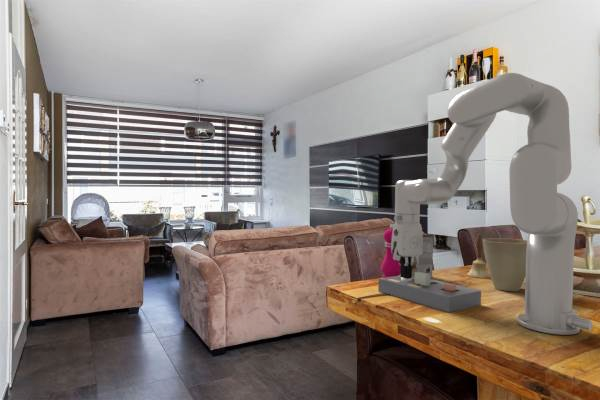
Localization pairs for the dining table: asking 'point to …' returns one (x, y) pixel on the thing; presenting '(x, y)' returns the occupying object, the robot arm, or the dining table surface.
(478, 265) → the hand bell
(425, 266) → the coffee box
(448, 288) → the terracotta button
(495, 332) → the dining table surface
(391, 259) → the pepper mill
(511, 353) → the dining table surface
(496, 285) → the plant pot
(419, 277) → the pale green block
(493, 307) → the dining table surface
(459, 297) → the switch panel
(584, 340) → the dining table surface
